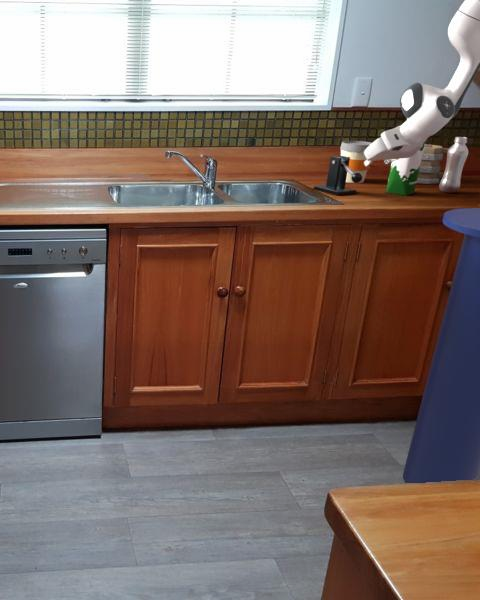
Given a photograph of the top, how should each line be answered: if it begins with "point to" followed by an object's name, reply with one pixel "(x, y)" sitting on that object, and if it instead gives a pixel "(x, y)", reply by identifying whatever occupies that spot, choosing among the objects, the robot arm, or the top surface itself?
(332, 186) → the black lever switch stand
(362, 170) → the reusable coffee cup
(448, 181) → the silver water bottle
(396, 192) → the milk carton
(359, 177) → the tap lever
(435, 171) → the tankard
